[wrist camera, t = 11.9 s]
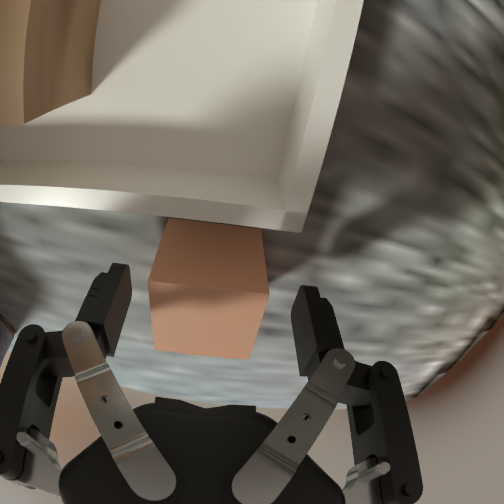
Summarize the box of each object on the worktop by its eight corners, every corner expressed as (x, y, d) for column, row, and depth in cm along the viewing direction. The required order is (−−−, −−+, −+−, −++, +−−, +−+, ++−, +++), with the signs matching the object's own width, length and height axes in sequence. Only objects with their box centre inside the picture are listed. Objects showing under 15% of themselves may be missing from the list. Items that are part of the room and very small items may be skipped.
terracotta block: (168, 285, 17) (154, 349, 13) (169, 217, 14) (148, 280, 11) (246, 293, 17) (249, 359, 14) (261, 228, 15) (269, 293, 11)
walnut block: (10, 102, 9) (-59, 137, 5) (15, 10, 6) (-56, 16, 2) (90, 94, 9) (24, 124, 6) (102, -11, 7) (37, -30, 3)
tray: (4, 167, 11) (-35, 199, 9) (17, -45, 4) (-27, -51, 2) (287, 190, 14) (301, 233, 11) (344, -55, 6) (378, -82, 4)
